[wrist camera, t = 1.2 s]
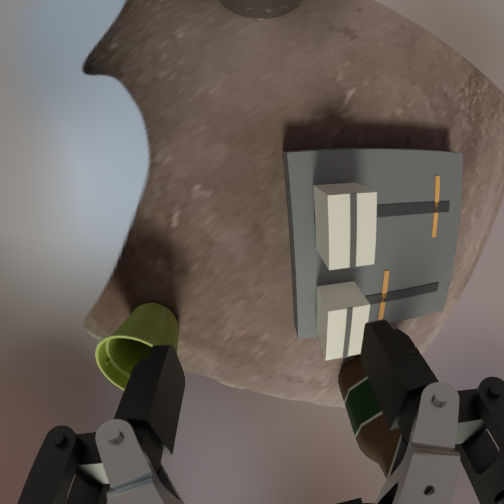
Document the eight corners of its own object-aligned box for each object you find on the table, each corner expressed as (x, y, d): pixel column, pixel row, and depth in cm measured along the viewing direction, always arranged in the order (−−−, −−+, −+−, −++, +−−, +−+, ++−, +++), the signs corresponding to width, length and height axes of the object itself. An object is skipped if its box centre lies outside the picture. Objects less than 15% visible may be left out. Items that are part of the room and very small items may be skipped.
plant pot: (179, 359, 36) (167, 408, 28) (115, 332, 34) (92, 376, 26) (203, 309, 33) (192, 360, 25) (130, 277, 31) (100, 320, 23)
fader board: (282, 151, 26) (287, 152, 23) (447, 150, 26) (463, 153, 23) (294, 323, 34) (298, 339, 31) (432, 298, 33) (443, 310, 30)
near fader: (313, 184, 24) (328, 195, 20) (355, 182, 24) (377, 191, 20) (316, 249, 26) (329, 271, 22) (355, 245, 26) (374, 265, 22)
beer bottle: (355, 347, 36) (417, 502, 13) (393, 355, 37) (458, 485, 15) (326, 383, 38) (364, 527, 16) (365, 389, 40) (410, 514, 17)
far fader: (316, 285, 28) (328, 311, 23) (354, 280, 28) (370, 304, 23) (316, 333, 30) (325, 361, 26) (350, 327, 30) (363, 354, 26)
